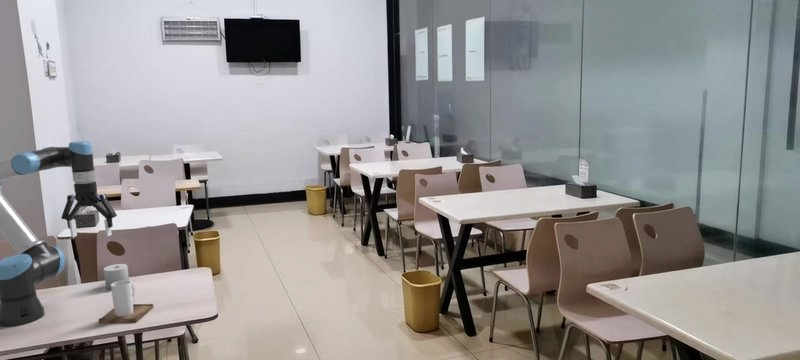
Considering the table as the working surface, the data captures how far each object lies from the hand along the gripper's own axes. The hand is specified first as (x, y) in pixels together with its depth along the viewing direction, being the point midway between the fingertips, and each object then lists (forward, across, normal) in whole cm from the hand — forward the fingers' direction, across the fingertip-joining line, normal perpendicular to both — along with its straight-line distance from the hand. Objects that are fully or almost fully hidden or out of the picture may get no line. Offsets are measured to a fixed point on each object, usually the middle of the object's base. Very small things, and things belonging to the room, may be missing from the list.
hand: (91, 236), depth 225 cm
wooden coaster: (+29, +15, -9) cm, 34 cm away
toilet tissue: (+29, -5, +25) cm, 38 cm away
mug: (+28, +15, -9) cm, 33 cm away
